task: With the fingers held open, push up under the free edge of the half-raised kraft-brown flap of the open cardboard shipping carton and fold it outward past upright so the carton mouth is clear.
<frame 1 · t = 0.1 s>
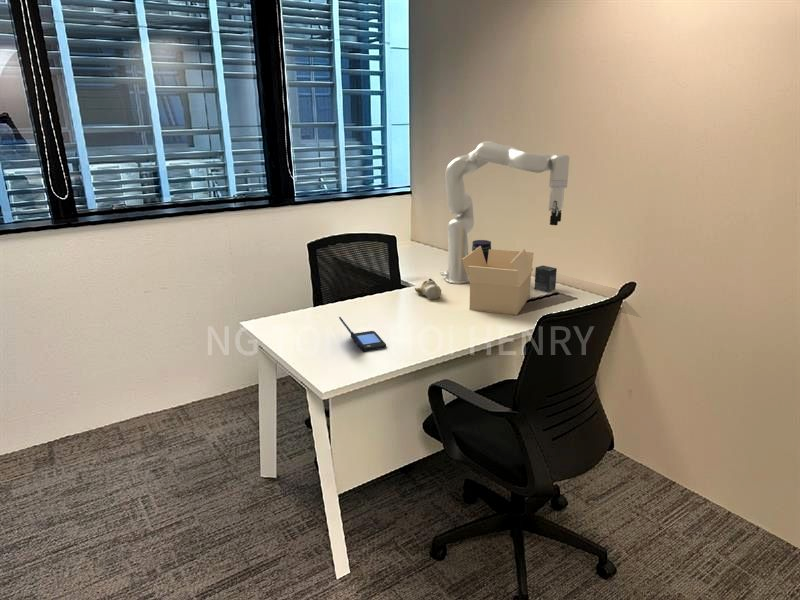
hand: (555, 223, 235), 31 cm above the table, fingers open, 9 cm apart
flap: (522, 266, 221), point 17 cm above the table, hinge at 65.0°
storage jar: (480, 269, 282), on the table
carton: (500, 302, 229), on the table
box: (544, 290, 246), on the table
handheld device with antenna: (362, 344, 191), on the table
ceramic sculpture: (429, 296, 240), on the table
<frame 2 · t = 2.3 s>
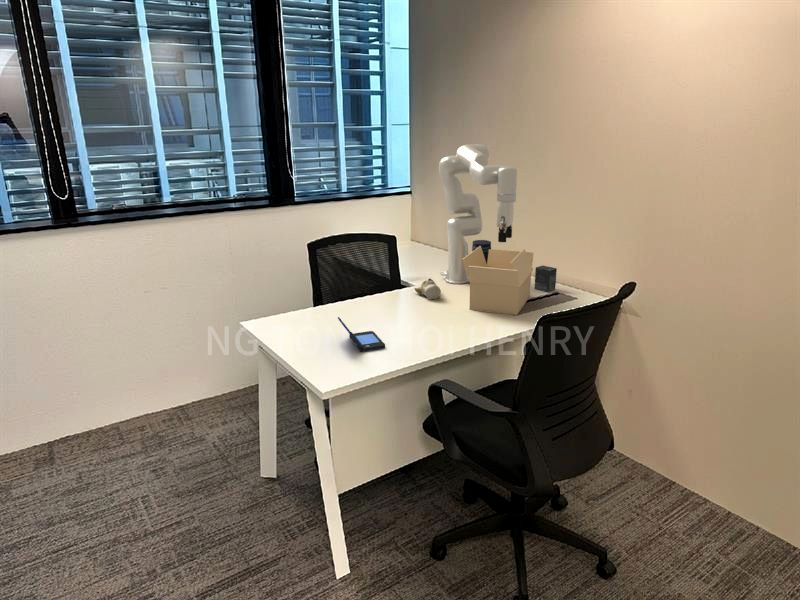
hand: (505, 239, 220), 28 cm above the table, fingers open, 9 cm apart
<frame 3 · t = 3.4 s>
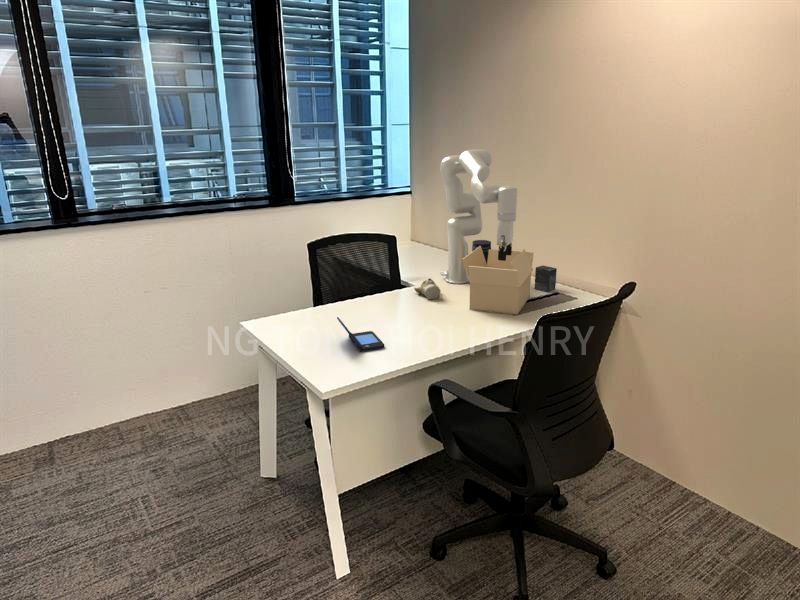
hand: (504, 257, 222), 20 cm above the table, fingers open, 9 cm apart
nothing on the table moved.
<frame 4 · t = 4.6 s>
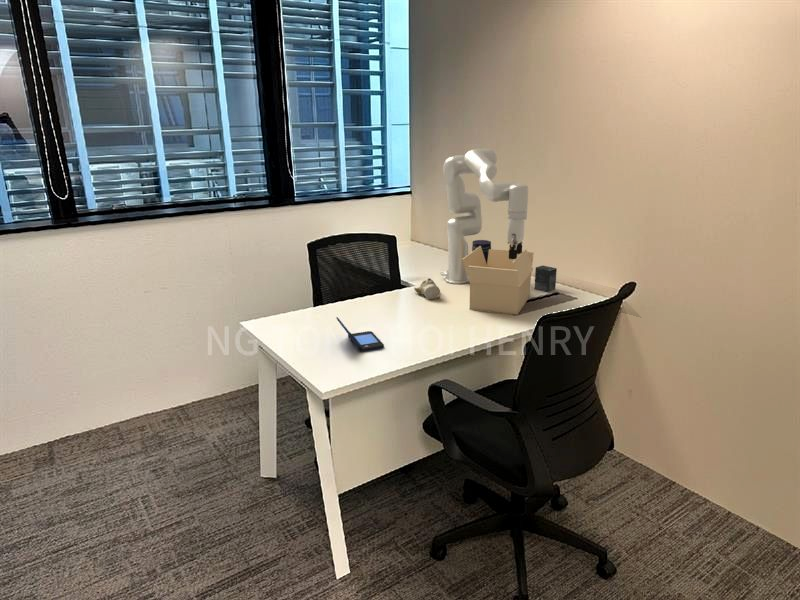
hand: (515, 256, 220), 21 cm above the table
flap: (523, 266, 220), point 17 cm above the table, hinge at 69.4°, touching gripper
everything else where it was.
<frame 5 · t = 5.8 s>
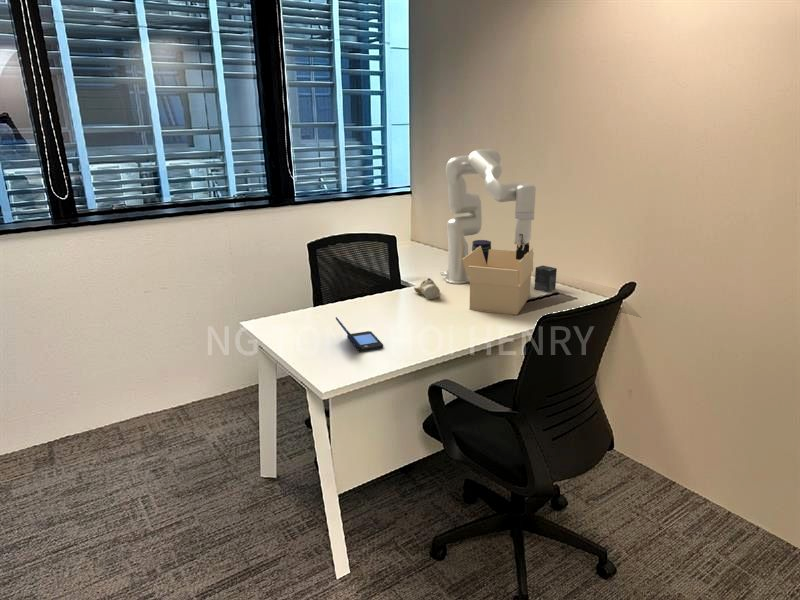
hand: (522, 256, 219), 21 cm above the table
flap: (526, 266, 220), point 17 cm above the table, hinge at 85.9°, touching gripper
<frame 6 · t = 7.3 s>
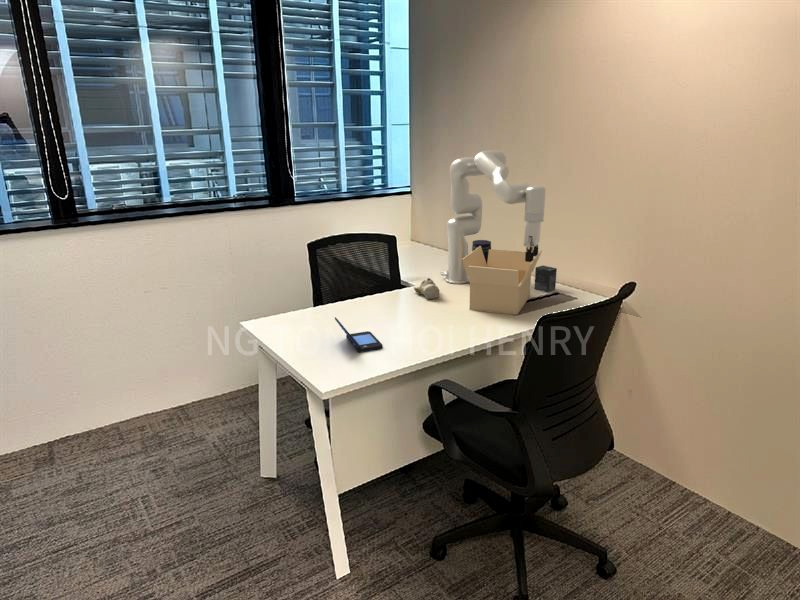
hand: (531, 258, 218), 21 cm above the table
flap: (531, 267, 219), point 17 cm above the table, hinge at 109.9°, touching gripper
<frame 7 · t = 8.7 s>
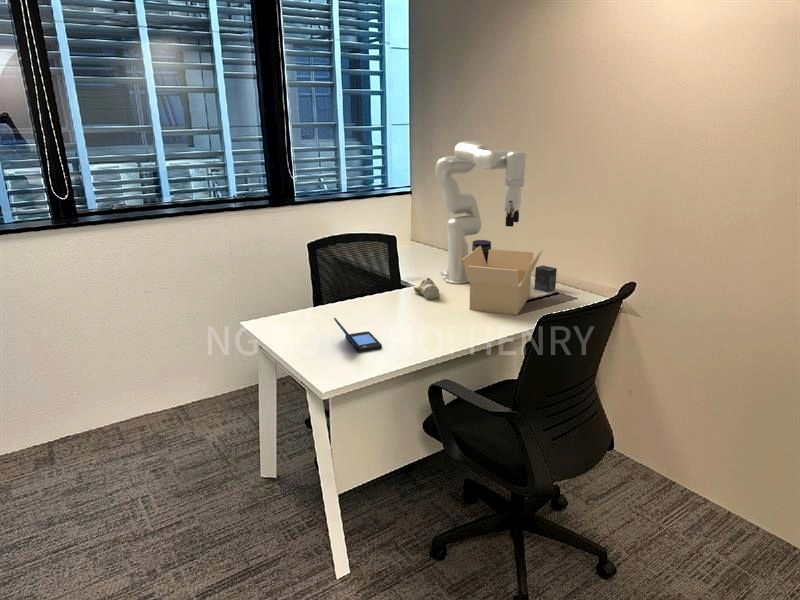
hand: (512, 224, 223), 33 cm above the table, fingers open, 9 cm apart
flap: (531, 267, 219), point 17 cm above the table, hinge at 110.2°
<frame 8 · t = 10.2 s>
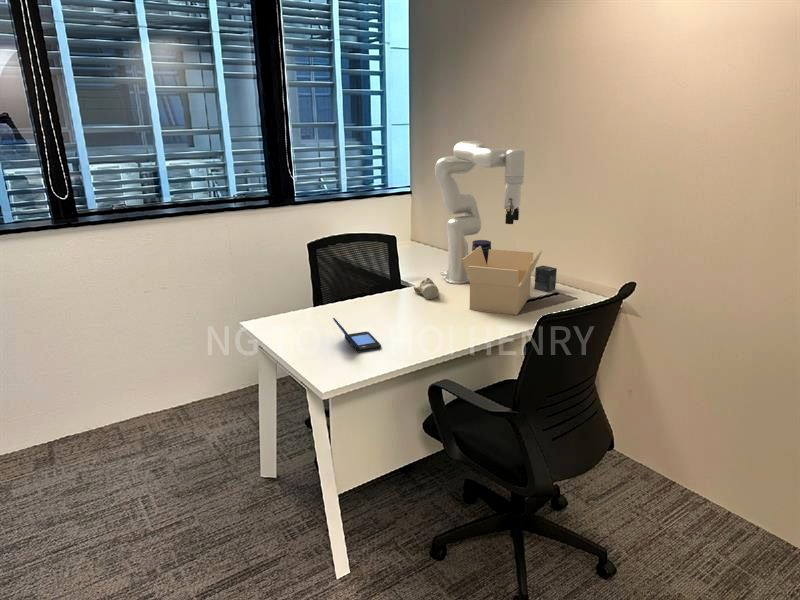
hand: (512, 221, 223), 34 cm above the table, fingers open, 9 cm apart
at the end: flap at +110° (first picture: +65°) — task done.
